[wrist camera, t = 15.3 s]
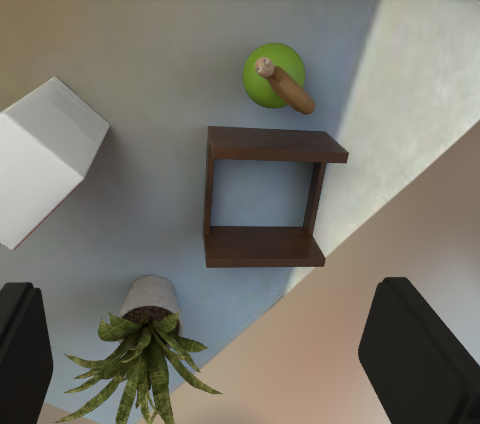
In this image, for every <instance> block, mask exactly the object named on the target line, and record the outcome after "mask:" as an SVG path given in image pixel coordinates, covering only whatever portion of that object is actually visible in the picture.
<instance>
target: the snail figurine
mask: <svg viewBox="0 0 480 424" xmlns="http://www.w3.org/2000/svg"><path fill="white" fill-rule="evenodd" d="M304 81H305V69H304V65H303V62H302V60H301V58H300V56H299V55H298V54H297V53H296V52H295V51H294V50H293V49H292V48H290V47H289V46H287V45H284V44H280V43H269V44H265V45H263V46H261V47H259V48H257V49H256V50H255V51H254V52H253V53H252V54H251V55H250V56H249V58H248V59H247V61H246V63H245V66H244V70H243V84H244V87H245V90H246V92H247V94H248V95H249V97H250V98H251V99H252V100H253V101H254V102H255V103H257V104H258V105H260V106H263V107H266V108H281V107H284V106H286V105H290V106H291V107H292V108H293V109H295V110H296V111H298V112H301V113H303V114H305V115H308V114H311V113H312V112H313V111H314V109H315V103H314V101H313V99H312V98H311V97H310V96H309V95H308V94H307V93H306V92H305V91H304V90H303V89H302V88H303V85H304Z"/></svg>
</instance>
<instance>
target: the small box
mask: <svg viewBox="0 0 480 424" xmlns="http://www.w3.org/2000/svg"><path fill="white" fill-rule="evenodd" d="M109 127H110V125H109V123H107V122H106V121H105V120H104V119H103V118H102V117H100V116H99V115H98V114H97V113H96V112H95V111H94V110H93V109H91V108H90V107H89V106H88V105H87V104H86V103H85V102H84V101H82V100H81V99H80V98H79V97H78V96H77V95H76V94H75V93H74V92H72V91H71V90H70V89H69V88H68V87H67V86H66V85H65V84H63V83H62V82H61V81H60V80H59V79H58V78H57V77H55V76H54V77H52V78H51V79H49V80H48V81H47V82H45V83H44V84H42V85H41V86H39V87H38V88H36V89H35V90H33V91H32V92H30V93H29V94H27V95H26V96H24V97H23V98H22V99H20V100H19V101H17V102H16V103H14V104H13V105H11V106H10V107H8V108H7V109H5V110H4V111H3V112H1V113H0V243H1V244H3V245H4V246H6V247H7V248H9V249H10V250H14V249H16V248H17V247H18V246H19V245H20V244H21V243H22V242H23V241H24V240H25V239H26V238H27V237H28V236H29V235H30V234H31V233H32V232H33V231H34V230H35V229H36V228H37V227H38V226H39V225H40V224H41V223H42V222H43V221H44V220H45V219H46V218H47V217H48V216H49V215H50V214H51V213H52V212H53V211H54V210H55V209H56V208H57V207H58V206H59V205H60V204H61V203H62V202H63V201H64V199H65V198H66V197H67V196H68V195H69V194H71V193H72V192H73V191H74V190H75V189H76V187H77V186H78V185H79V184H80V183H81V182H82V181H83V180H84V179H85V176H86V174H87V172H88V170H89V168H90V166H91V164H92V162H93V160H94V158H95V156H96V153H97V151H98V149H99V147H100V145H101V143H102V141H103V139H104V137H105V135H106V133H107V131H108V129H109Z"/></svg>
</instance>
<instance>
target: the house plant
mask: <svg viewBox="0 0 480 424" xmlns="http://www.w3.org/2000/svg"><path fill="white" fill-rule="evenodd" d="M180 311H181V310H180ZM180 311H179V307H178V303H177V299H176V295H175V291H174V287H173V285H172V284H171V282H170V281H169V280H167V279H166V278H163V277H160V276H156V275H147V276H143V277H141V278H139V279H137V280H136V281H135V282H134V283H133V284H132V286H131V288H130V291H129V293H128V295H127V298H126V300H125V302H124V305H123V307H122V309H121V312H120V314H119V316H118V317H116V316H114V315H111V314H110V312H109V311H108V312H109V315H110V322H111V325H110V324H107V323H105V322H104V321H102V317H101V323H100V326H99V329H98V335H99V337H100V338H101V340H104V341H118V342H119V343H120V346H119V347H118V348H117V349H116V350H115V351H114V352H113V353H112V354H111V355H110V356H109V357H108V358H106V359H105V360H100V361H86V360H83V359H80V358H77V357H75V356H69V355H66V354H65V355H66V356H67V357H68V358H69V359H71V360H72V361H74V362H75V363H77V364H79V365H81V366H83V367H85V368H90V369H91V370H90V371H89V372H87V373H85V374H83V375H79V376H77V377H76V378H74V379H79V378H86V377H90V376H93V375H95V376H94V377H93V378H91V379H90V380H88V381H87V382H85V383H84V384H82V385H81V386H79V387H78V388H75V389H72V390H69V391H67V392H65V393H74V392H79V391H82V390H85V389H87V388H89V387H91V386H92V385H94V384H95V383H97V382H98V381H99V380H101V379H111V378H113V377H114V376H115V375H116V376H115V377H114V378H113V379H112V381H111V382H110V383H109V384H108V385H107V386H106V387H105V388H104V389H103V390H102V391H101V392H100V393H99V394H98V395H97V396H95V397H94V398H93V399H91V400H90V401H89V402H87V403H86V404H85V405H84V406H82V407H81V408H80V409H79V410H77V411H76V412H75V413H73V414H71V415H68V416H66V417H64V418H62V419H60V420H59V421H57V422H63V421H69V420H73V419H76V418H78V417H81V416H84V415H85V414H87V413H89V412H91V411H92V410H94V409H95V408H96V407H98V406H99V405H101V404H102V403H103V402H104V401H105V400H107V399H108V398H109V396H110V395H111V394H112V393H113V392H114V391H115V389H116V388H117V386H118V385H119V383H120V382H123V381H124V380H126V379H128V381H127V384H126V387H125V389H124V393H123V396H122V399H121V402H120V405H119V409H118V412H117V416H116V424H127V420H128V417H129V413H130V410H131V407H132V404H133V401H134V398H135V395H136V389H137V390H138V392H137V401H136V408H137V407H138V406H139V404H140V408H141V412H142V414H143V416H144V419H145V421H146V423H147V424H152V422H153V420H154V418H155V416H156V415H157V414H158V413H159V415H160V416H161V418H162V419H163V420H164V422H165V424H174V419H173V413H172V408H171V403H170V398H169V389H168V384H169V373H168V367H167V363H166V359H165V356H166V358H167V359H168V360H169V361H170V362H171V364H172V365H173V367H174V368H175V369H176V371H177V372H178V373H179V374H180V375H181V376H182V377H183V378H184V379H185V380H186V381H187V382H188V383H189V384H190V385H192V386H193V387H195V388H198V389H201V390H203V391H206V392H208V393H211V394H221V393H220V392H218V391H216V390H213V389H212V388H210V387H209V386H207V385H205V384H204V383H202V382H201V381H200V380H198V379H197V378H196V377H195V376H194V375H192V374H191V373H190V372H189V371H188V370H187V369H186V368H185V367H184V366H183V364H182V363H181V362H180V361H179V360H178V359H180V360H185V361H186V362H187V363H188V364H189V365H190V366H191V367H192V368H193V369H195V370H196V371H198V372H200V370H199V368H198V367H197V366H196V365H195V364H194V362H193V359H192V358H191V356H190V354H189V353H188V352H187V351H189V352H199V351H202V350H204V349H207V348H208V347H205V346H204V345H203V344H201V343H199V342H197V341H194V340H190V339H187V338H183V337H181V336H182V334H183V323H182V319H181V315H180ZM170 348H173V349H174V350H175V351H176V352H177V353H178V354H179V355H178V354H177V353H175V352H173V351H171V350H169V349H170ZM126 352H127V353H126ZM124 353H126V354H125V355H124V356H123V357H122V355H123V354H124ZM164 355H165V356H164ZM121 357H122V358H121ZM120 358H121V359H120ZM119 359H120V360H119ZM118 360H119V361H118ZM117 361H118V362H117ZM126 373H127V374H126ZM125 375H126V377H125V379H124V378H123V377H124V376H125ZM150 375H151V378H150ZM151 383H152V390H153V397H154V402H155V406H156V408H155V407H154V405H153V403H152V400H151V398H150V394H149V390H150V389H151ZM148 399H149V401H150V404H151V406H152V407H153V409H154V410H155V411H154V414H153V416H152V418H150V415H149V411H148ZM57 422H56V423H57Z"/></svg>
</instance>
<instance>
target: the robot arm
mask: <svg viewBox="0 0 480 424" xmlns="http://www.w3.org/2000/svg"><path fill="white" fill-rule="evenodd" d="M358 356H359V360H360V363H361V364H362V367H363V368H364V370H365V372H366V374H367V376H368V378H369V380H370V382H371V384H372V386H373V388H374V390H375V392H376V394H377V396H378V398H379V400H380V402H381V404H382V406H383V408H384V410H385V412H386V414H387V416H388V418H389V420H390V422H391V424H480V366H479V365H478V363H477V362H476V361H475V360H474V359H473V357H472V356H471V355H470V354H469V353H468V351H467V350H466V349H465V348H464V346H463V345H462V344H461V343H460V342H459V341H458V339H457V338H456V337H455V336H454V334H453V333H452V332H451V331H450V329H449V328H448V327H447V326H446V325H445V323H444V322H443V321H442V320H441V319H440V317H439V316H438V315H437V314H436V313H435V311H434V310H433V309H432V308H431V306H430V305H429V304H428V303H427V302H426V300H425V299H424V298H423V297H422V296H421V294H420V293H419V292H418V291H417V290H416V288H415V287H414V286H413V285H412V283H411V282H410V281H409V280H408V279H407V278H405V277H387V278H385V279H384V280H383V281H382V282H380V283H379V284H378V285H377V288H376V291H375V295H374V298H373V301H372V305H371V308H370V311H369V315H368V318H367V322H366V325H365V328H364V332H363V335H362V338H361V341H360V345H359V349H358ZM52 374H53V358H52V352H51V346H50V341H49V335H48V329H47V323H46V317H45V311H44V306H43V300H42V294H41V290H40V288H34V287H33V284H32V283H30V282H26V283H6V284H5V285H4V286H3V288H2V289H1V291H0V424H36V423H37V420H38V417H39V414H40V411H41V408H42V405H43V402H44V399H45V396H46V393H47V390H48V387H49V384H50V381H51V378H52Z"/></svg>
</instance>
